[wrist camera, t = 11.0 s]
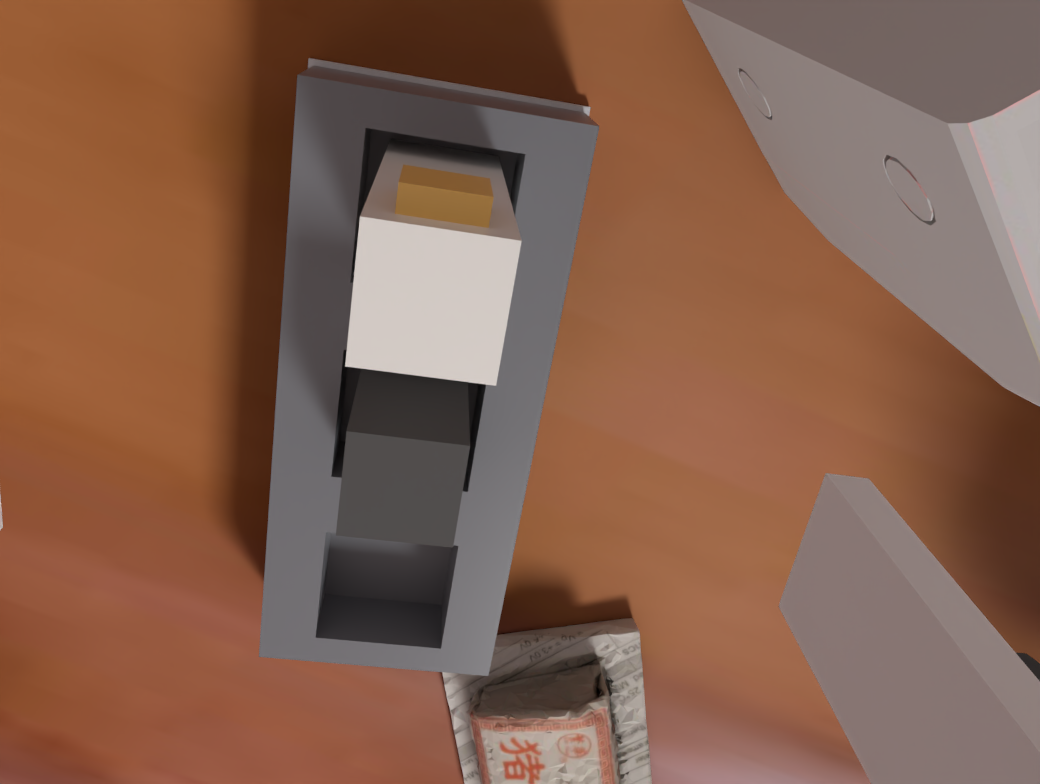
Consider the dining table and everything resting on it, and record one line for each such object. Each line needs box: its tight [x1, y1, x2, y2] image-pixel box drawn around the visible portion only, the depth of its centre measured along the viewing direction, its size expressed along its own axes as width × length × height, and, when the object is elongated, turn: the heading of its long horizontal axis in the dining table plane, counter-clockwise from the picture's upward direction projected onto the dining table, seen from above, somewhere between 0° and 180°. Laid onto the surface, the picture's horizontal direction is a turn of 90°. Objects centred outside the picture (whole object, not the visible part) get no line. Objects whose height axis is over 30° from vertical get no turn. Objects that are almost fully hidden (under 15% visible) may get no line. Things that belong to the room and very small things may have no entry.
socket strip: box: [259, 58, 599, 676], centre depth 36 cm, size 10×24×4 cm, turn 170°
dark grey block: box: [336, 369, 470, 548], centre depth 33 cm, size 4×4×8 cm
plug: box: [345, 139, 522, 386], centre depth 28 cm, size 4×5×12 cm
